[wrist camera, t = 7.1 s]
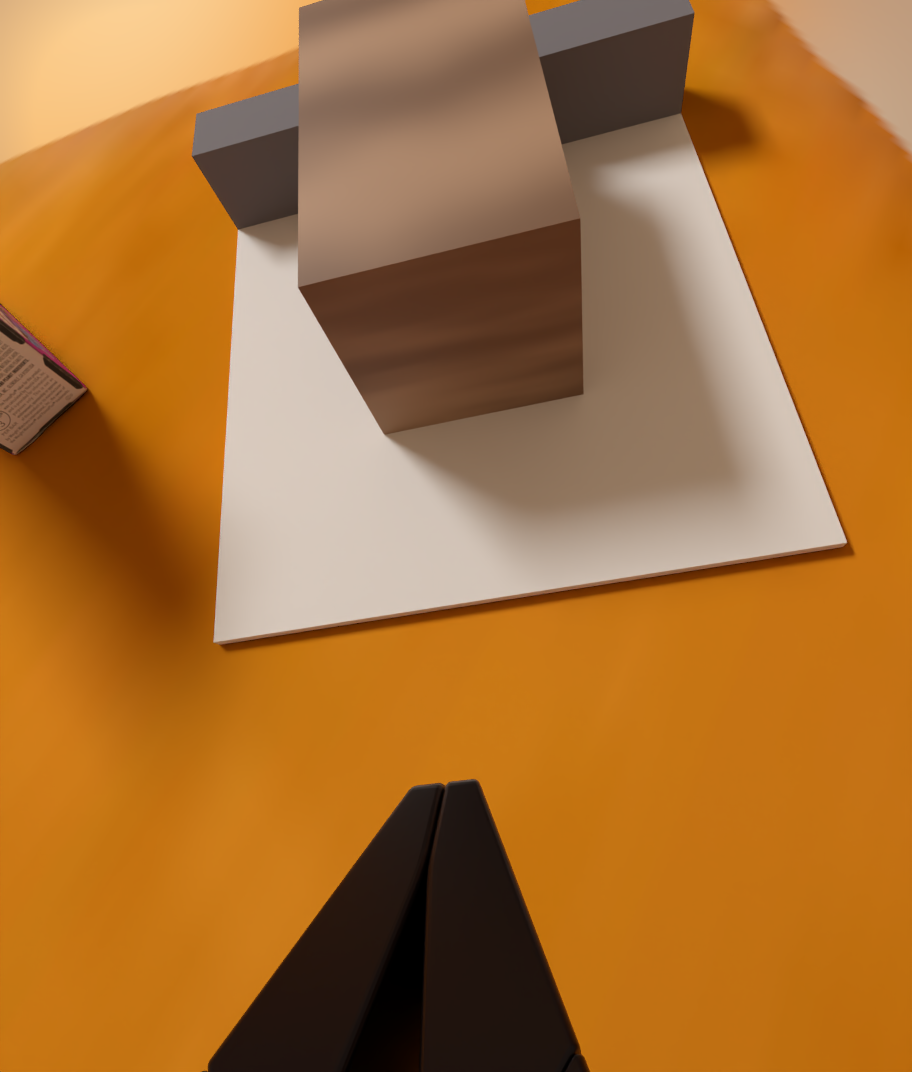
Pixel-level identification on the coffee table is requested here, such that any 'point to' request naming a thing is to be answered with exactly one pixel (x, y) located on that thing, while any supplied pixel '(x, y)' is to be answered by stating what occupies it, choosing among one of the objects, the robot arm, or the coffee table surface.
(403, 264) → the walnut slab
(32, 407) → the candy bar box
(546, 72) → the white board
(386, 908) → the robot arm
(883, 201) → the coffee table surface
